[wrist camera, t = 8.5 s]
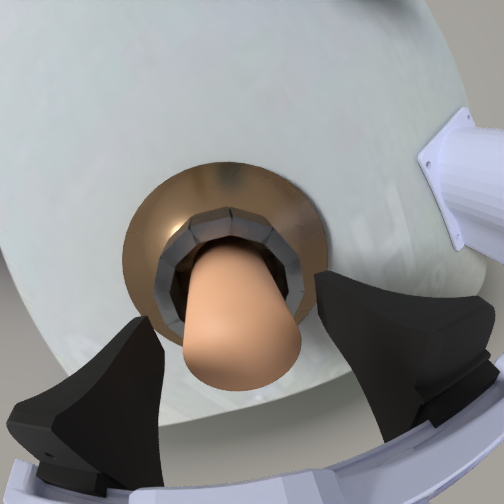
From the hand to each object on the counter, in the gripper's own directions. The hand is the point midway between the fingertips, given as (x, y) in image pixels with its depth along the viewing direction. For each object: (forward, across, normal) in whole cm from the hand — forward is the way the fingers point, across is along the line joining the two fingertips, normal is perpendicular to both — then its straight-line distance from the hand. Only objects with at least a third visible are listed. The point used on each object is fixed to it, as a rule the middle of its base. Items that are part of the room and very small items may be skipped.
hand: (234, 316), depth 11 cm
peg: (+4, 0, 0) cm, 5 cm away
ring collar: (+5, 0, 0) cm, 5 cm away
